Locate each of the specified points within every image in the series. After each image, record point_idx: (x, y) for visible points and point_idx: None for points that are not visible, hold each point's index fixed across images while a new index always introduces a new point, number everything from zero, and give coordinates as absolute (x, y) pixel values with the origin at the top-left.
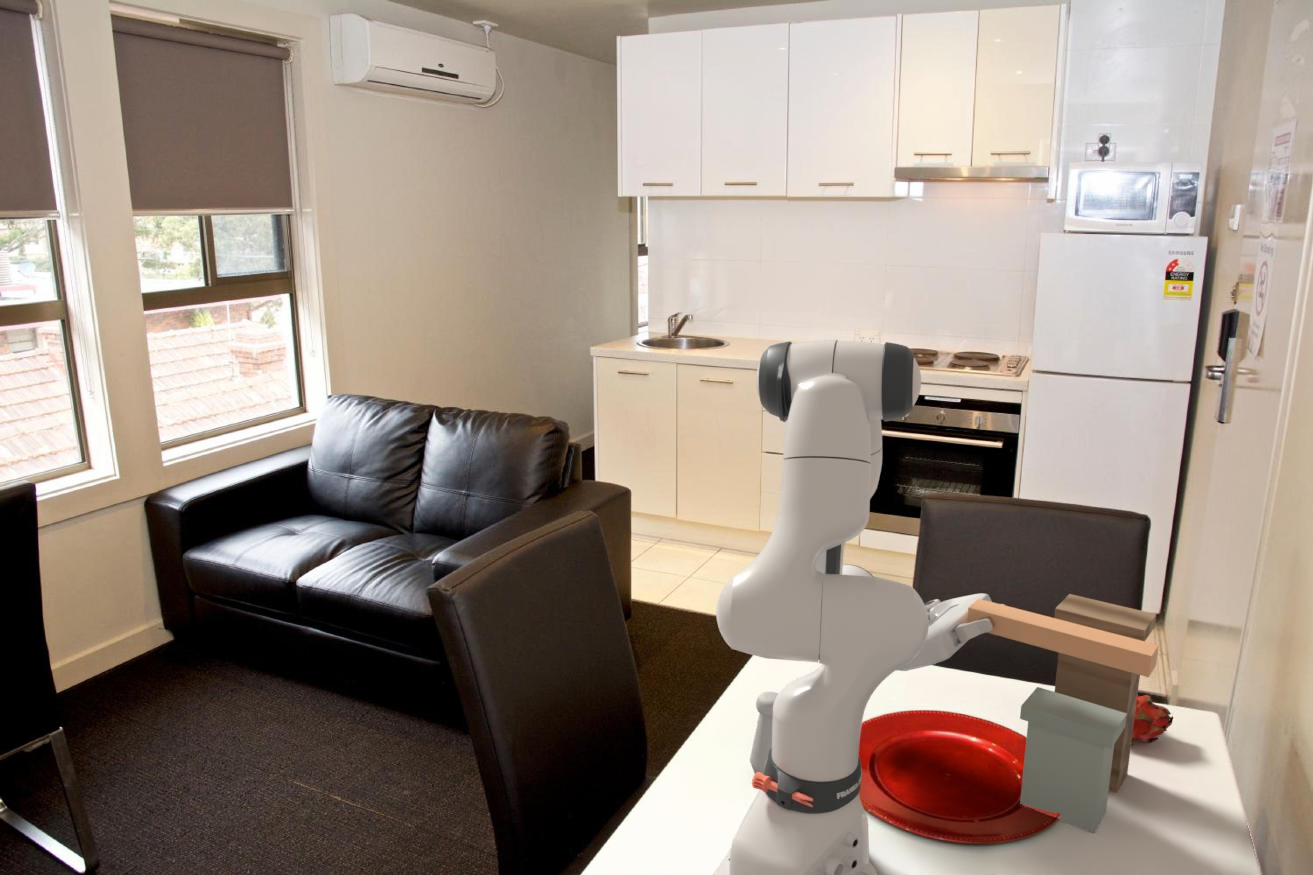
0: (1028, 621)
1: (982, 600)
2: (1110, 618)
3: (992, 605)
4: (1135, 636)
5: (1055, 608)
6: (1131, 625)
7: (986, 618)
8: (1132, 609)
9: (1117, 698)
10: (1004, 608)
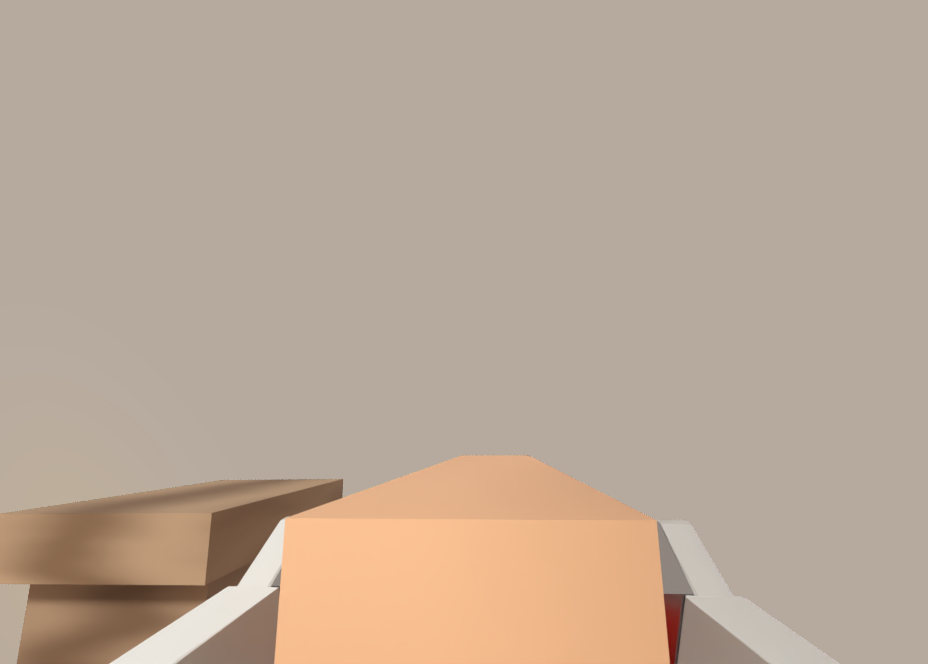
0: (537, 471)
1: (335, 510)
2: (281, 488)
3: (424, 494)
4: None
5: (211, 513)
6: (320, 482)
7: (660, 523)
8: (191, 485)
9: None
10: (435, 485)
